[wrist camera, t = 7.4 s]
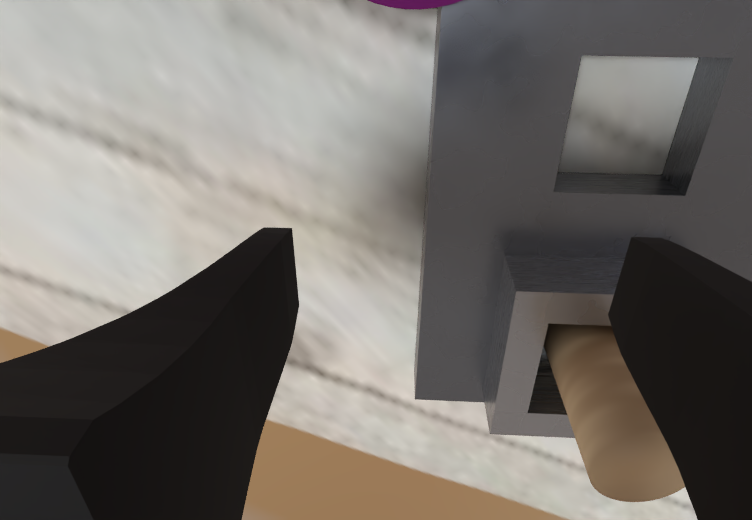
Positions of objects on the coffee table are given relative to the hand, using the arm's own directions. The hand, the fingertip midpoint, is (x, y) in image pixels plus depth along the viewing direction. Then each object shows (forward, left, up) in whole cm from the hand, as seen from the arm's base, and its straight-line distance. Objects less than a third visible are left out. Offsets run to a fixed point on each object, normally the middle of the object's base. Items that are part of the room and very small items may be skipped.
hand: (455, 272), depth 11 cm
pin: (-7, +8, -10) cm, 15 cm away
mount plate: (-7, +4, -10) cm, 13 cm away
